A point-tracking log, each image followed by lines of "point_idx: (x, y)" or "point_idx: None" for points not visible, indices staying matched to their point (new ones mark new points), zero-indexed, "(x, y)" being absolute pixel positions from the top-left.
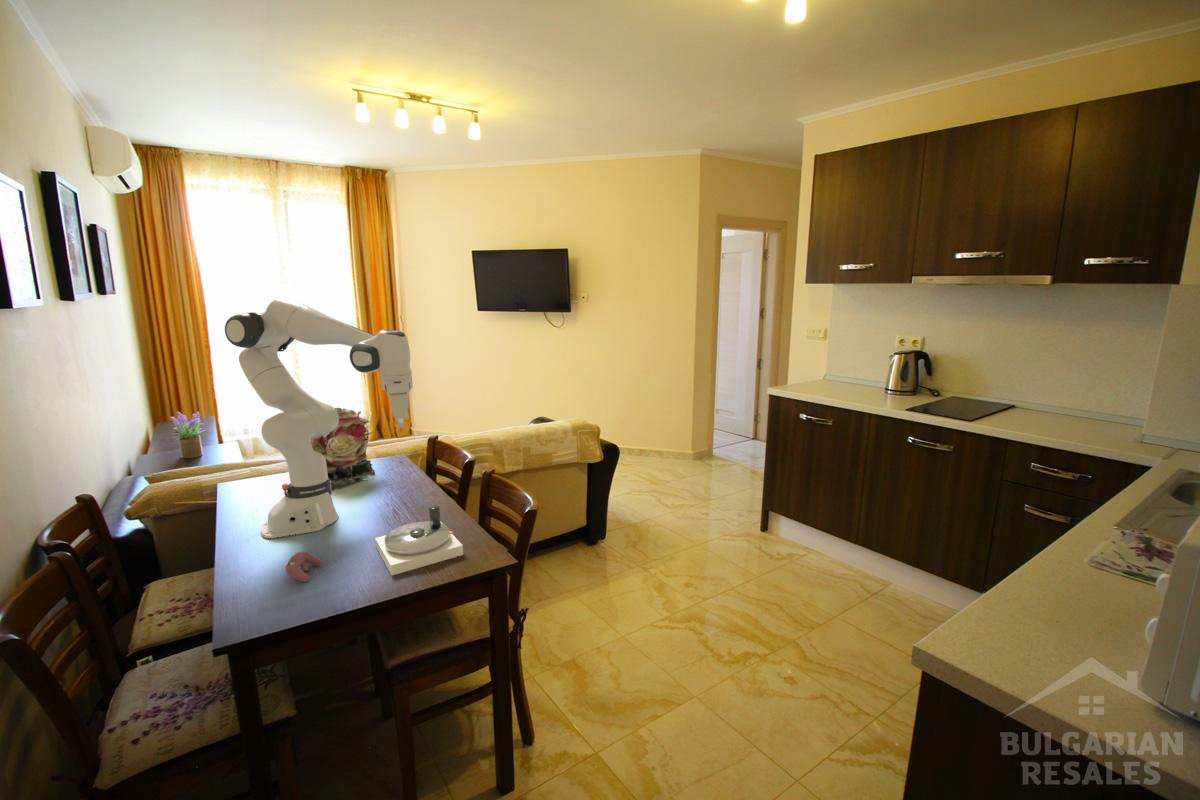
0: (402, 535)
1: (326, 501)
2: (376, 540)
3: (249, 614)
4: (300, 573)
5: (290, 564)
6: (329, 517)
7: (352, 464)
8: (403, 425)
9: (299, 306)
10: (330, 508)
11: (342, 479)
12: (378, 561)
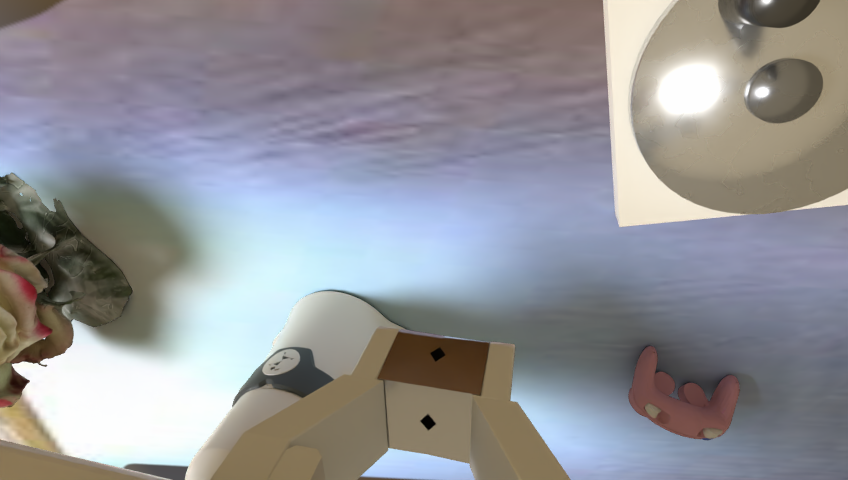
0: (744, 149)
1: (342, 355)
2: (644, 224)
3: (818, 469)
4: (735, 404)
5: (716, 436)
6: (367, 321)
7: (35, 272)
8: (510, 367)
9: None
10: (344, 330)
11: (51, 263)
12: None
